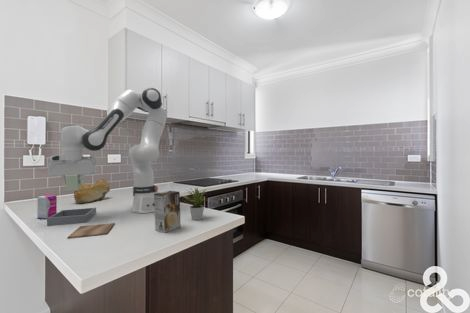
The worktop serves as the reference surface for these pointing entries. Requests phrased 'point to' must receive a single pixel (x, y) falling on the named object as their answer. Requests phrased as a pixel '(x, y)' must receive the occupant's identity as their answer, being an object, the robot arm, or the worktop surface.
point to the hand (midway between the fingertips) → (73, 183)
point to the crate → (71, 216)
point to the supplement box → (46, 206)
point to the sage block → (73, 182)
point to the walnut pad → (92, 230)
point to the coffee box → (167, 211)
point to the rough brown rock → (92, 191)
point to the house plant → (196, 204)
